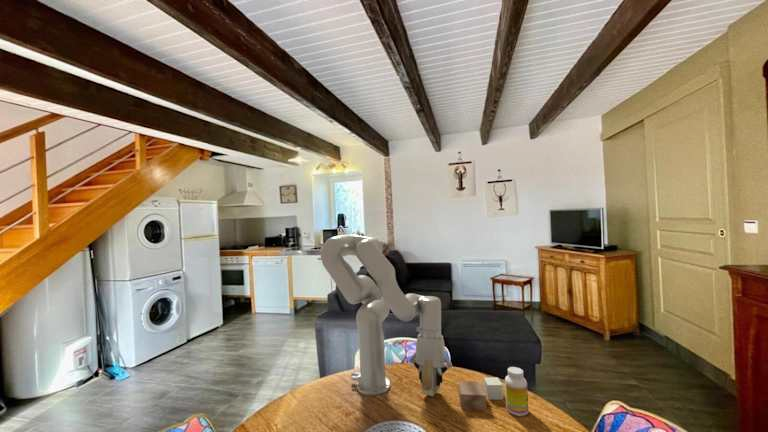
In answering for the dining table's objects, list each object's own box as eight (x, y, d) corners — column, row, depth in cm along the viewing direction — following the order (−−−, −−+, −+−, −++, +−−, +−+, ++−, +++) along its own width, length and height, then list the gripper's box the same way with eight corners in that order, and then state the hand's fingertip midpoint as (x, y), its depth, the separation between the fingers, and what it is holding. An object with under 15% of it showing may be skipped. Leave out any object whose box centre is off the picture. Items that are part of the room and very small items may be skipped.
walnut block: (461, 409, 101) (460, 394, 101) (459, 395, 109) (458, 381, 109) (486, 410, 100) (485, 395, 100) (482, 396, 108) (481, 382, 108)
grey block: (488, 399, 105) (487, 385, 105) (484, 391, 110) (483, 377, 110) (503, 399, 105) (502, 384, 105) (498, 391, 110) (497, 377, 110)
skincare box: (429, 384, 113) (429, 351, 113) (440, 388, 111) (439, 354, 111) (421, 393, 108) (420, 358, 108) (432, 397, 106) (432, 361, 106)
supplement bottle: (531, 417, 95) (529, 376, 95) (508, 416, 96) (506, 374, 96) (525, 404, 101) (523, 365, 102) (504, 403, 103) (502, 364, 103)
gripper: (404, 333, 109) (404, 384, 109) (454, 339, 103) (454, 393, 103) (409, 325, 116) (409, 374, 116) (456, 331, 110) (456, 381, 110)
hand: (430, 382), depth 110 cm, fingers closed on skincare box, 5 cm apart
